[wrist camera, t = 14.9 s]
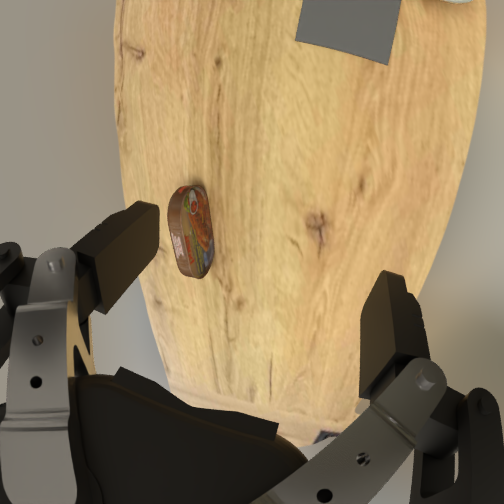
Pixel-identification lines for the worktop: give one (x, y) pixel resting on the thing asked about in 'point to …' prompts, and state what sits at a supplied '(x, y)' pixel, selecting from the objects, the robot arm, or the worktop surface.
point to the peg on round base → (457, 1)
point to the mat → (350, 26)
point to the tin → (191, 231)
